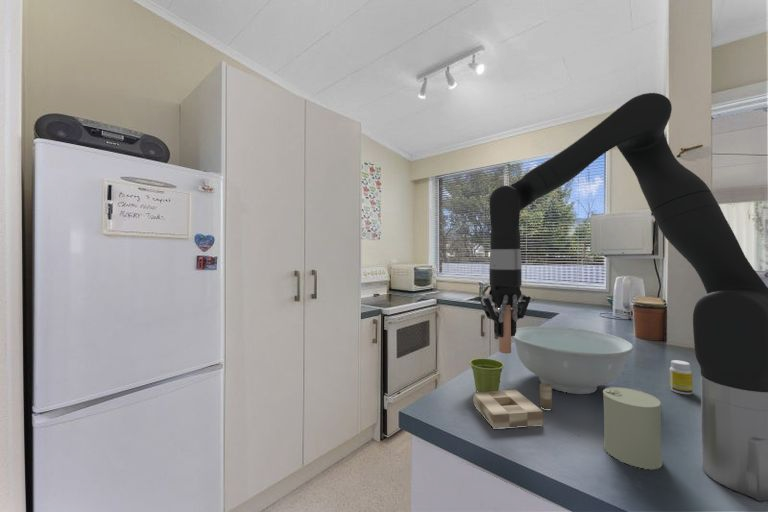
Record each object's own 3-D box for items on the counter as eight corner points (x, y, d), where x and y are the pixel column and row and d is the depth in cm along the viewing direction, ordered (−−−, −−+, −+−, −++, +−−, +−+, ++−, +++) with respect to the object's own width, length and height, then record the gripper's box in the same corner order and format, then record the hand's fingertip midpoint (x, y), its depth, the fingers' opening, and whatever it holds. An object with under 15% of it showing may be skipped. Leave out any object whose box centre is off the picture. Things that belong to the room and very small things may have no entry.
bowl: (617, 373, 105) (616, 329, 105) (651, 419, 76) (650, 358, 76) (513, 361, 119) (512, 322, 119) (508, 396, 90) (507, 344, 90)
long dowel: (513, 353, 78) (513, 305, 78) (502, 353, 78) (502, 305, 78) (507, 349, 81) (507, 303, 81) (497, 350, 81) (497, 303, 81)
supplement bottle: (697, 395, 88) (696, 365, 88) (677, 394, 89) (676, 364, 89) (684, 388, 93) (683, 359, 93) (665, 387, 94) (665, 359, 94)
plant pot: (472, 384, 98) (471, 356, 98) (504, 389, 94) (504, 360, 94) (468, 397, 89) (467, 366, 89) (503, 402, 86) (503, 370, 86)
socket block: (543, 426, 74) (542, 411, 74) (493, 430, 72) (493, 414, 72) (516, 402, 85) (515, 389, 85) (473, 405, 84) (473, 392, 84)
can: (605, 436, 69) (604, 381, 69) (661, 451, 63) (660, 392, 63) (601, 456, 62) (600, 395, 62) (663, 477, 56) (662, 409, 56)
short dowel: (554, 410, 81) (554, 387, 81) (544, 411, 81) (543, 387, 81) (547, 405, 84) (547, 382, 84) (537, 406, 83) (537, 383, 83)
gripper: (489, 268, 74) (489, 342, 74) (539, 267, 78) (539, 337, 78) (472, 267, 81) (472, 334, 81) (518, 266, 85) (519, 330, 85)
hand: (505, 335), depth 80 cm, fingers closed on long dowel, 2 cm apart
